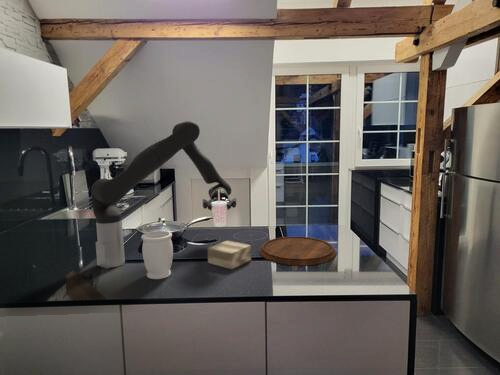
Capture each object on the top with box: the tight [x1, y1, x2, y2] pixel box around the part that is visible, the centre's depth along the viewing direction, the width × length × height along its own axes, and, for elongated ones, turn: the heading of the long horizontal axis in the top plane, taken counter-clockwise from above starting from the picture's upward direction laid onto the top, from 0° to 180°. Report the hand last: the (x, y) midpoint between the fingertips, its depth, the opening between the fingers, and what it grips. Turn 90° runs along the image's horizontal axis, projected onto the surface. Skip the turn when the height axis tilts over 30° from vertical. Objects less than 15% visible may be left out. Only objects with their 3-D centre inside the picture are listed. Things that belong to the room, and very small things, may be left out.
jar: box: [141, 230, 174, 280], centre depth 132 cm, size 11×10×15 cm
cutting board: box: [258, 236, 337, 266], centre depth 156 cm, size 32×32×3 cm
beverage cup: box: [211, 190, 227, 228], centre depth 143 cm, size 6×6×14 cm
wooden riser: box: [207, 239, 252, 270], centre depth 145 cm, size 12×12×6 cm
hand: (219, 207), depth 141 cm, fingers closed on beverage cup, 6 cm apart
